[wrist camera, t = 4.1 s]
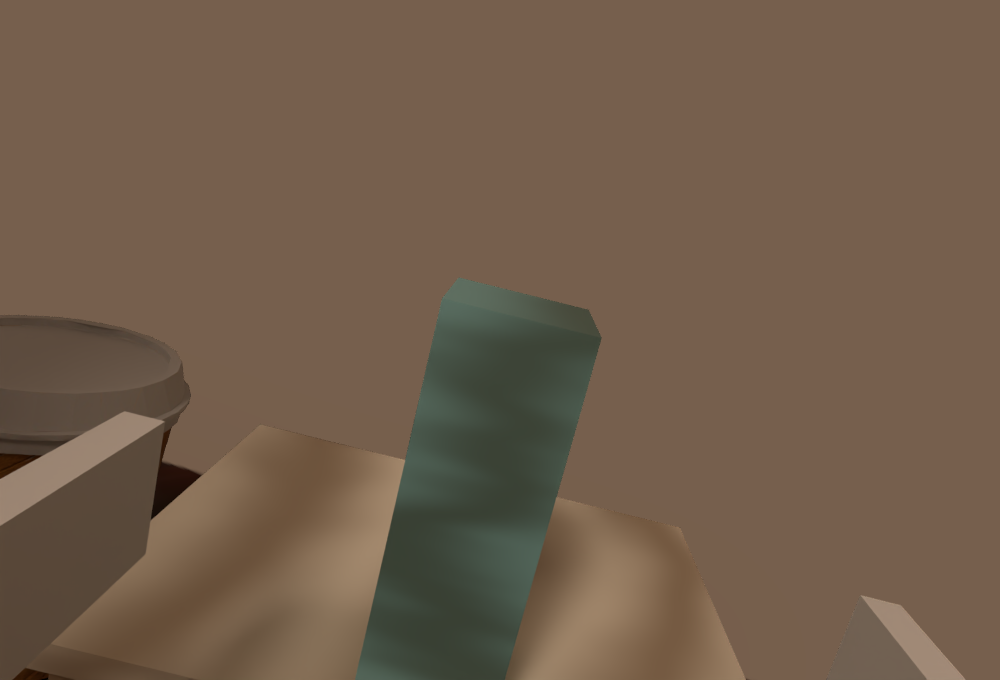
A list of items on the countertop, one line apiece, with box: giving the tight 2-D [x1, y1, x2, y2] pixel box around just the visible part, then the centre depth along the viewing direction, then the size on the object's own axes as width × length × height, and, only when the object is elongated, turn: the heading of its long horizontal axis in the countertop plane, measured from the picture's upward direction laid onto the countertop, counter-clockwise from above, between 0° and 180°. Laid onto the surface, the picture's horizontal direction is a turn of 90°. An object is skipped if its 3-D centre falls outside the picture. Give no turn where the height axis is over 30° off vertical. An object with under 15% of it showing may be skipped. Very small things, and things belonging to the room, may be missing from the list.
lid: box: [25, 278, 746, 680], centre depth 23 cm, size 19×15×11 cm
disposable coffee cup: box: [0, 315, 191, 680], centre depth 27 cm, size 10×10×12 cm
